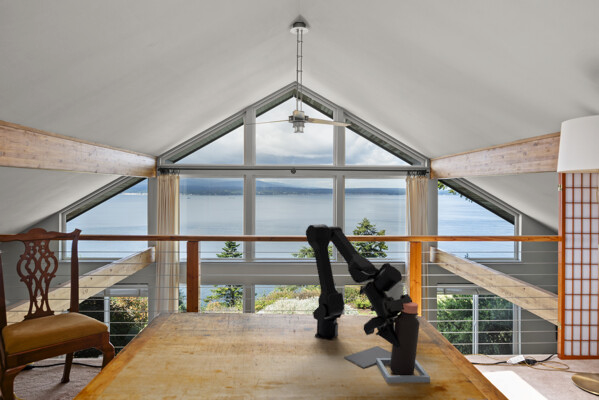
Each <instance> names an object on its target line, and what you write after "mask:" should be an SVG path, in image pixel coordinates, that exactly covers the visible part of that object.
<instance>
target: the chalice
mask: <svg viewBox="0 0 599 400" xmlns="http://www.w3.org/2000/svg"><path fill="white" fill-rule="evenodd" d="M404 287H405V283H402V282H401V281H400V282H399V283H398V284H397V285H396V286H395V287H393V288H392V289H391V290H390V291H389V292H386V294H387V295H388V297H393V298H394V300H398V299H400V296H401V295H404ZM393 320H394V319H393ZM394 327H395V324H394Z"/></svg>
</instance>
